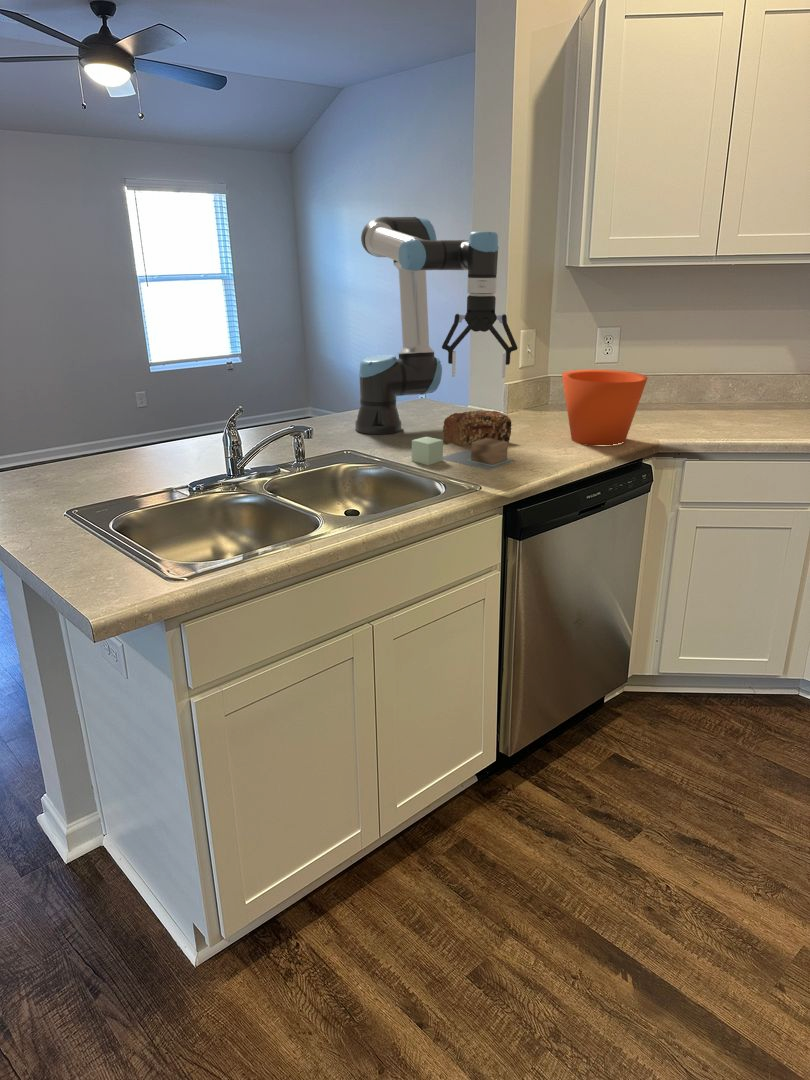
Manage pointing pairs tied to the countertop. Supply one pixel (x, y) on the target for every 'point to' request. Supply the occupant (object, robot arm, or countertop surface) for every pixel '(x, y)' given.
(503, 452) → the walnut base
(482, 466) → the build mat
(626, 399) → the flowerpot
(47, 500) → the countertop surface
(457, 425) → the bread
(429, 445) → the green block
